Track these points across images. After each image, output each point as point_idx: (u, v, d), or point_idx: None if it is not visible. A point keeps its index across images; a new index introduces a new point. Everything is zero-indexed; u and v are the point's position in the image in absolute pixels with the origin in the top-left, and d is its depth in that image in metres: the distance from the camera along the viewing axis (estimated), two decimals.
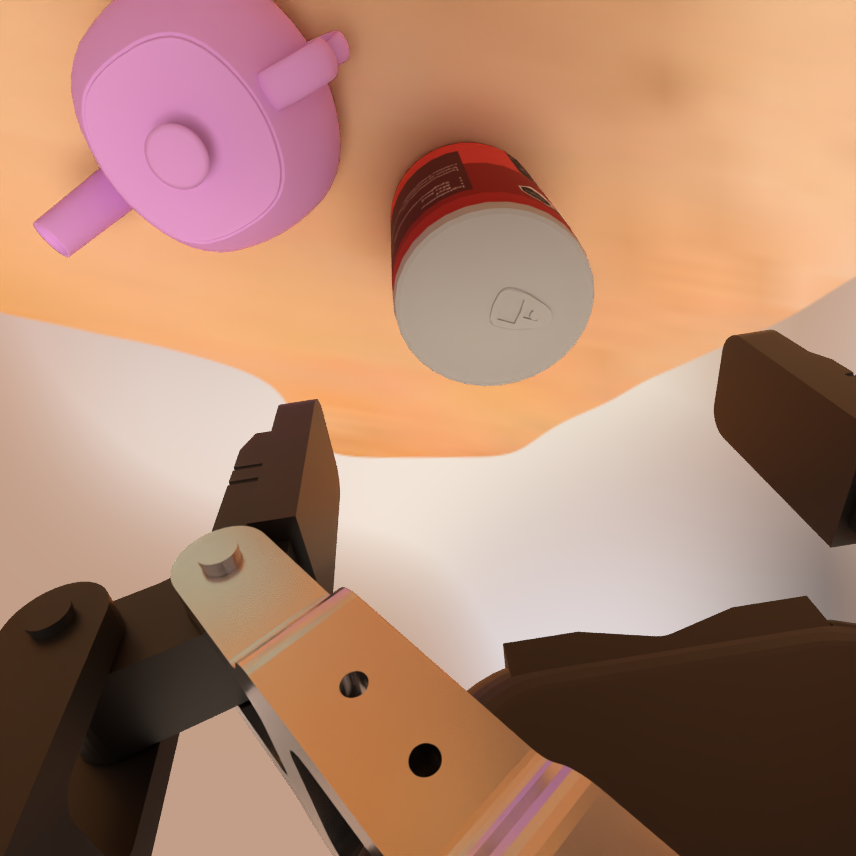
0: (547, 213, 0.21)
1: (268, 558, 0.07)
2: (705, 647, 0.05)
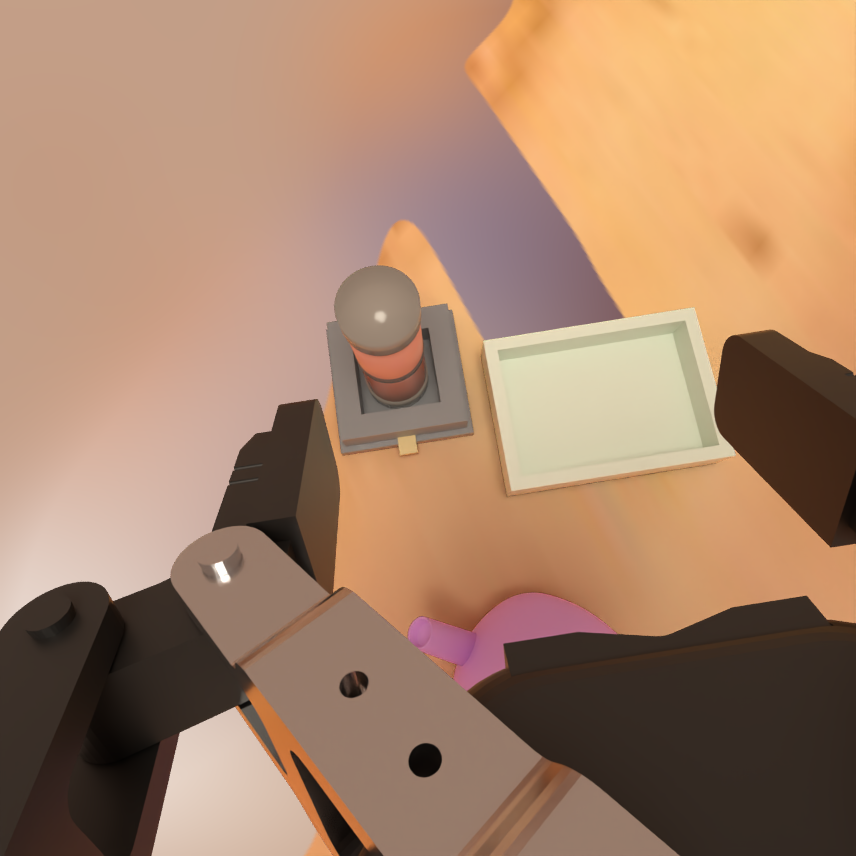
0: None
1: (268, 558, 0.07)
2: (706, 648, 0.05)
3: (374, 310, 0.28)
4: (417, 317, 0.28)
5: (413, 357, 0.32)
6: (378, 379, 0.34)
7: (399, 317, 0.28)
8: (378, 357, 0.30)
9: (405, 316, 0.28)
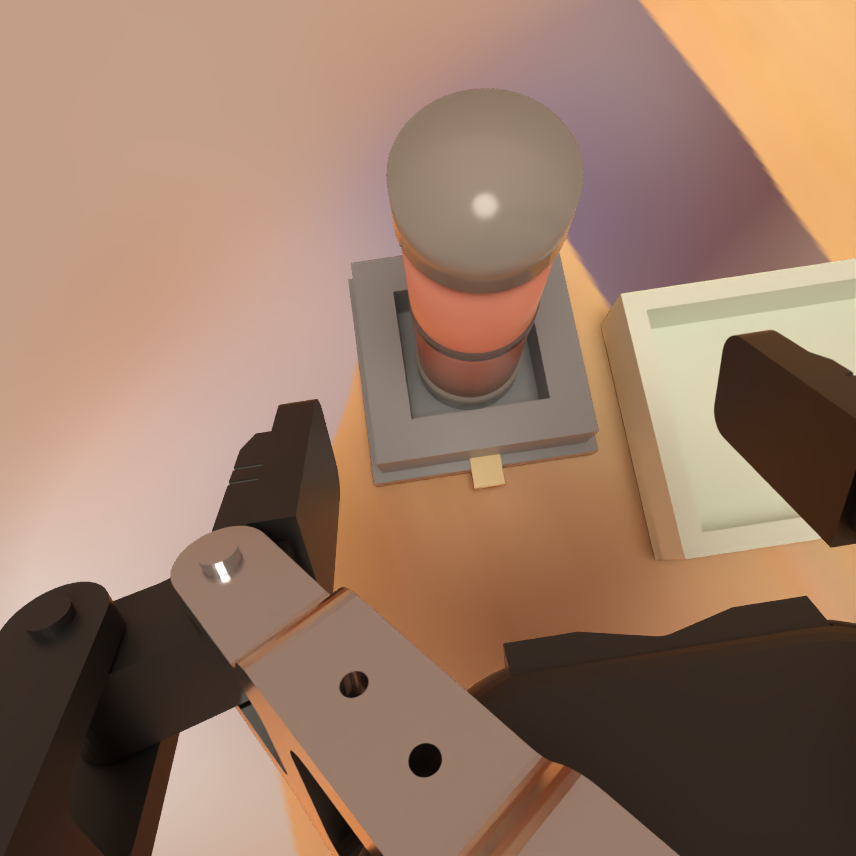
0: None
1: (268, 558, 0.07)
2: (706, 648, 0.05)
3: (478, 183, 0.12)
4: None
5: (533, 307, 0.16)
6: (455, 353, 0.18)
7: (537, 198, 0.12)
8: (475, 299, 0.14)
9: (551, 196, 0.12)
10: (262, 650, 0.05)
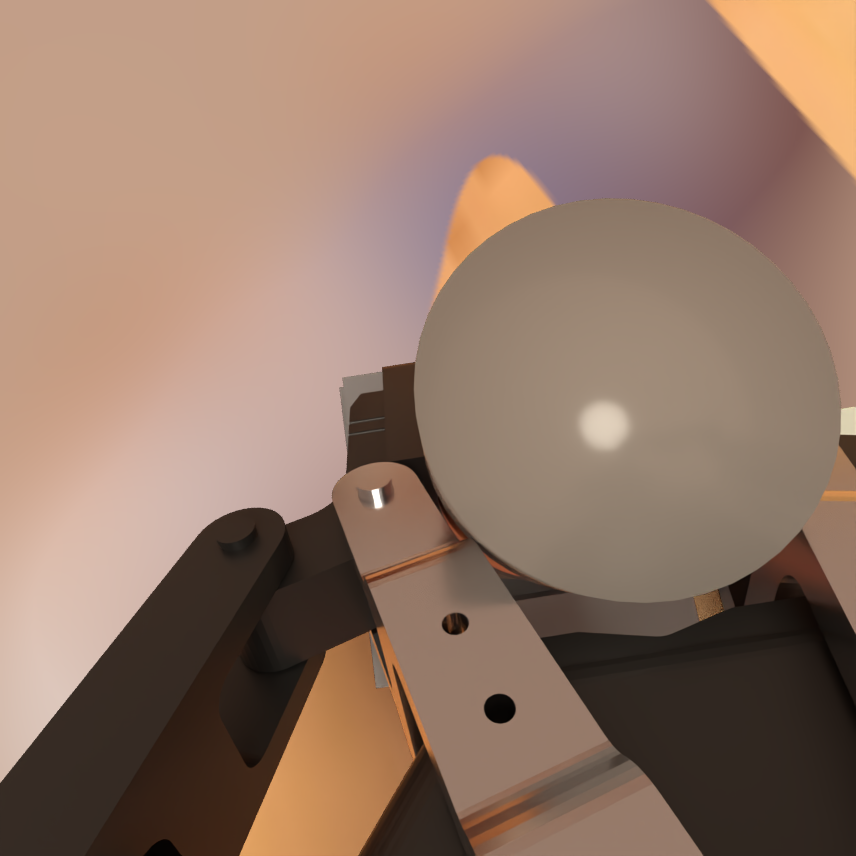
0: None
1: (421, 487, 0.08)
2: (706, 648, 0.05)
3: (614, 412, 0.06)
4: (829, 449, 0.06)
5: None
6: (508, 576, 0.11)
7: (744, 450, 0.06)
8: None
9: (774, 445, 0.06)
10: (386, 571, 0.06)
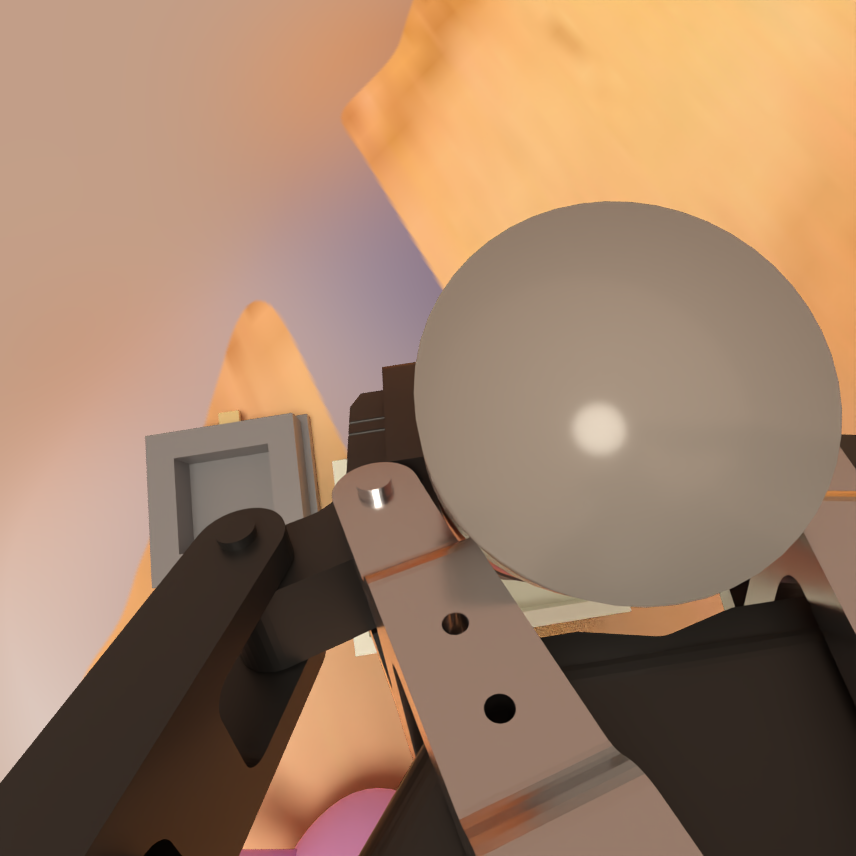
0: None
1: (421, 487, 0.08)
2: (705, 648, 0.05)
3: (614, 416, 0.06)
4: (830, 453, 0.06)
5: None
6: (509, 578, 0.11)
7: (745, 454, 0.06)
8: None
9: (775, 449, 0.06)
10: (386, 571, 0.06)
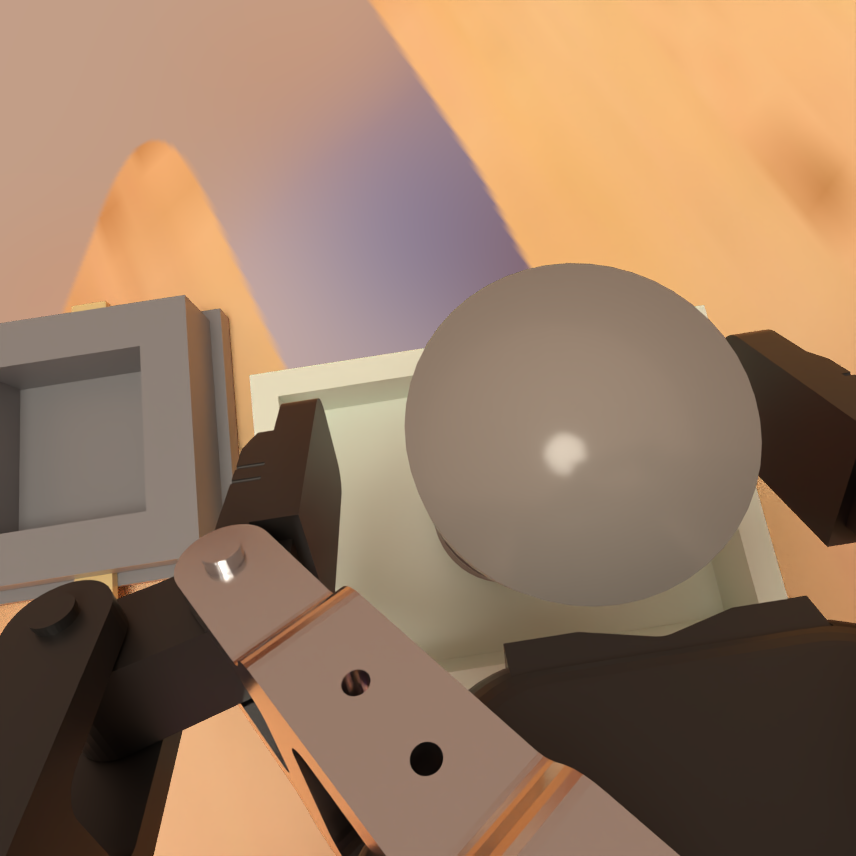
0: None
1: (271, 556, 0.07)
2: (705, 648, 0.05)
3: (571, 447, 0.07)
4: (752, 479, 0.07)
5: None
6: None
7: (679, 480, 0.07)
8: None
9: (705, 476, 0.07)
10: (264, 648, 0.05)
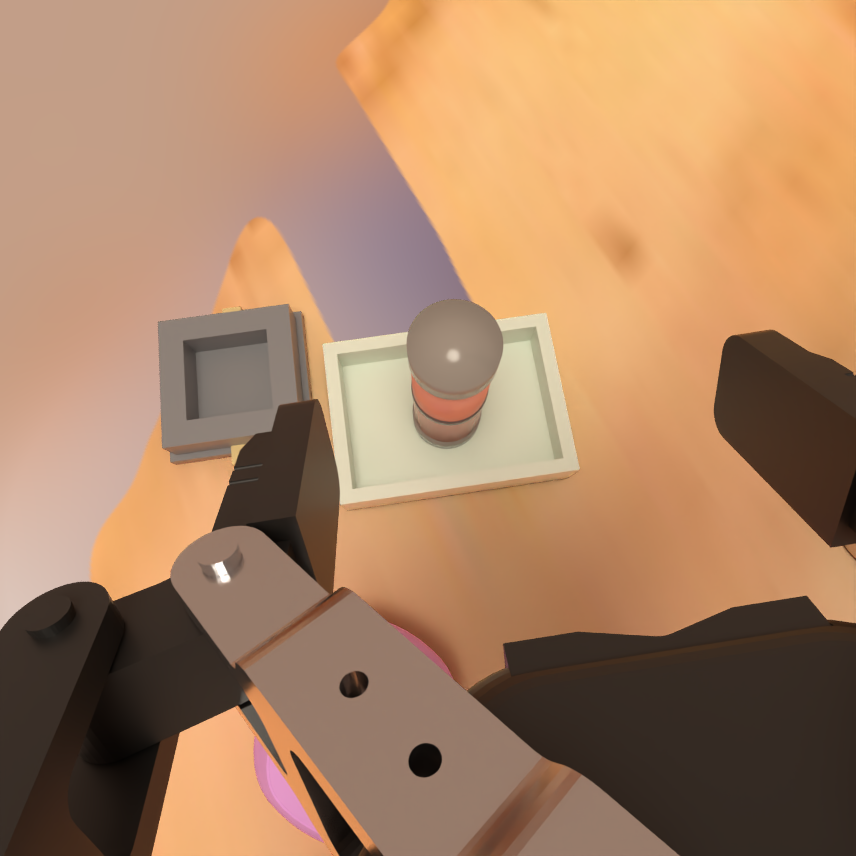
0: None
1: (268, 558, 0.07)
2: (706, 648, 0.05)
3: (452, 349, 0.25)
4: (500, 359, 0.25)
5: (482, 399, 0.29)
6: (438, 421, 0.30)
7: (480, 358, 0.25)
8: (450, 400, 0.27)
9: (487, 358, 0.25)
10: (262, 650, 0.05)
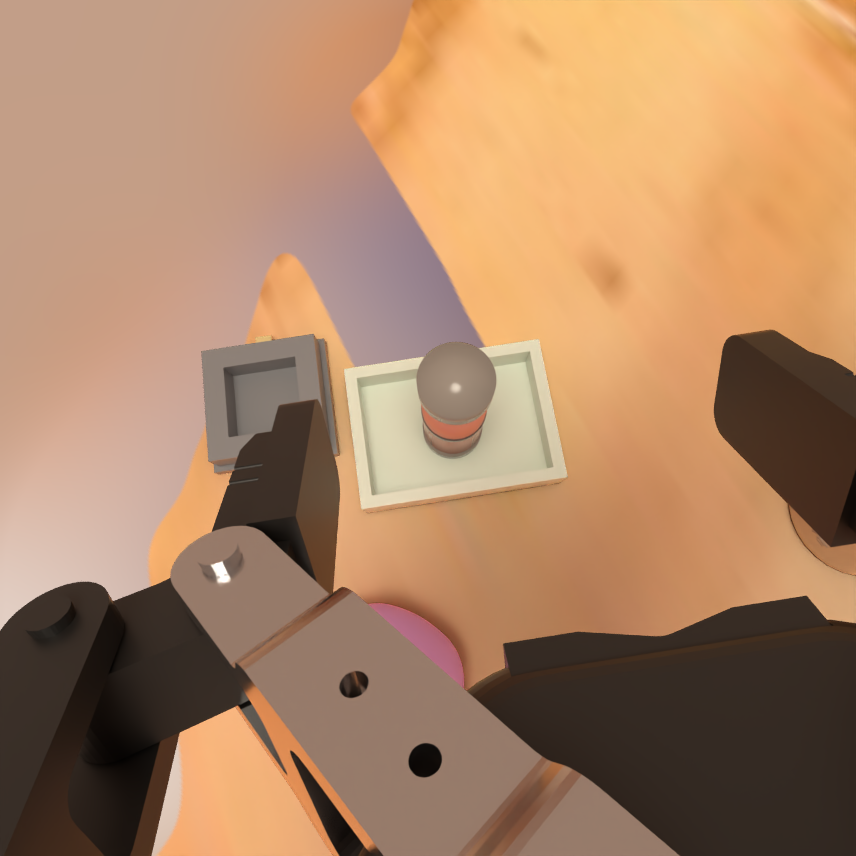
0: None
1: (268, 558, 0.07)
2: (706, 648, 0.05)
3: (454, 384, 0.30)
4: (493, 392, 0.30)
5: (480, 421, 0.34)
6: (444, 438, 0.36)
7: (477, 392, 0.30)
8: (453, 425, 0.32)
9: (483, 391, 0.30)
10: (262, 650, 0.05)
